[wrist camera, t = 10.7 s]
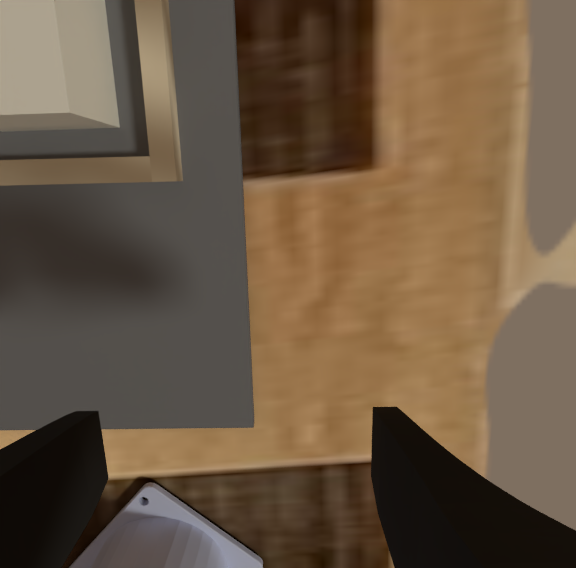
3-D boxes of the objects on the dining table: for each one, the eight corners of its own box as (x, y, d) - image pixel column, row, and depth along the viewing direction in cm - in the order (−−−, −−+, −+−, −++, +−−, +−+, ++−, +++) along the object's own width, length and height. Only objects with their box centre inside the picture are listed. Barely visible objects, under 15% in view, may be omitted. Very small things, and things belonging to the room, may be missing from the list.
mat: (254, 421, 21) (253, 427, 21) (-37, 425, 22) (-44, 430, 21) (223, -224, 15) (221, -238, 15) (-183, -205, 15) (-199, -217, 15)
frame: (182, 181, 18) (176, 181, 17) (-46, 186, 18) (-65, 187, 17) (151, -213, 15) (140, -240, 14) (-126, -200, 15) (-155, -227, 14)
